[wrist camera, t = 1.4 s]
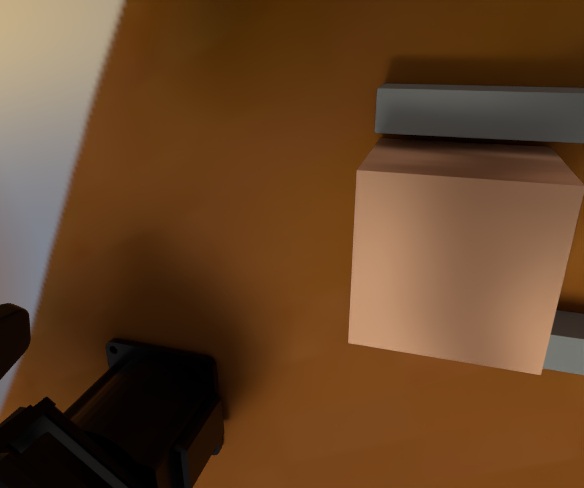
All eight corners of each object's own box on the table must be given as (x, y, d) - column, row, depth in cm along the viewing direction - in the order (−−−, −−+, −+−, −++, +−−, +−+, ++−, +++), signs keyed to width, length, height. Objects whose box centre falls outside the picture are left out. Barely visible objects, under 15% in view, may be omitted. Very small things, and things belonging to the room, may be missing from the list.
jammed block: (371, 277, 21) (348, 343, 17) (380, 138, 19) (356, 170, 14) (520, 296, 20) (541, 375, 15) (550, 146, 17) (585, 186, 13)
